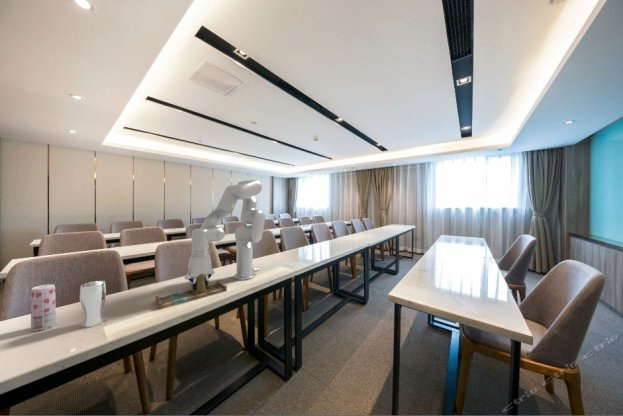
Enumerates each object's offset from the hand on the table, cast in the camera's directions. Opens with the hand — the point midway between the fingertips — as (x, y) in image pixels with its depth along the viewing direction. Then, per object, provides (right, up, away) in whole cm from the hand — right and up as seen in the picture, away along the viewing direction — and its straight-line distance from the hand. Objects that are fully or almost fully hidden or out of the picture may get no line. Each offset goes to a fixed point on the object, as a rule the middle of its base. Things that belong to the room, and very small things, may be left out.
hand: (200, 288), depth 108 cm
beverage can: (-42, -3, -30) cm, 51 cm away
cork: (0, -2, 0) cm, 2 cm away
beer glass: (-27, -3, -27) cm, 38 cm away
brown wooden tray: (-2, -3, -2) cm, 4 cm away
